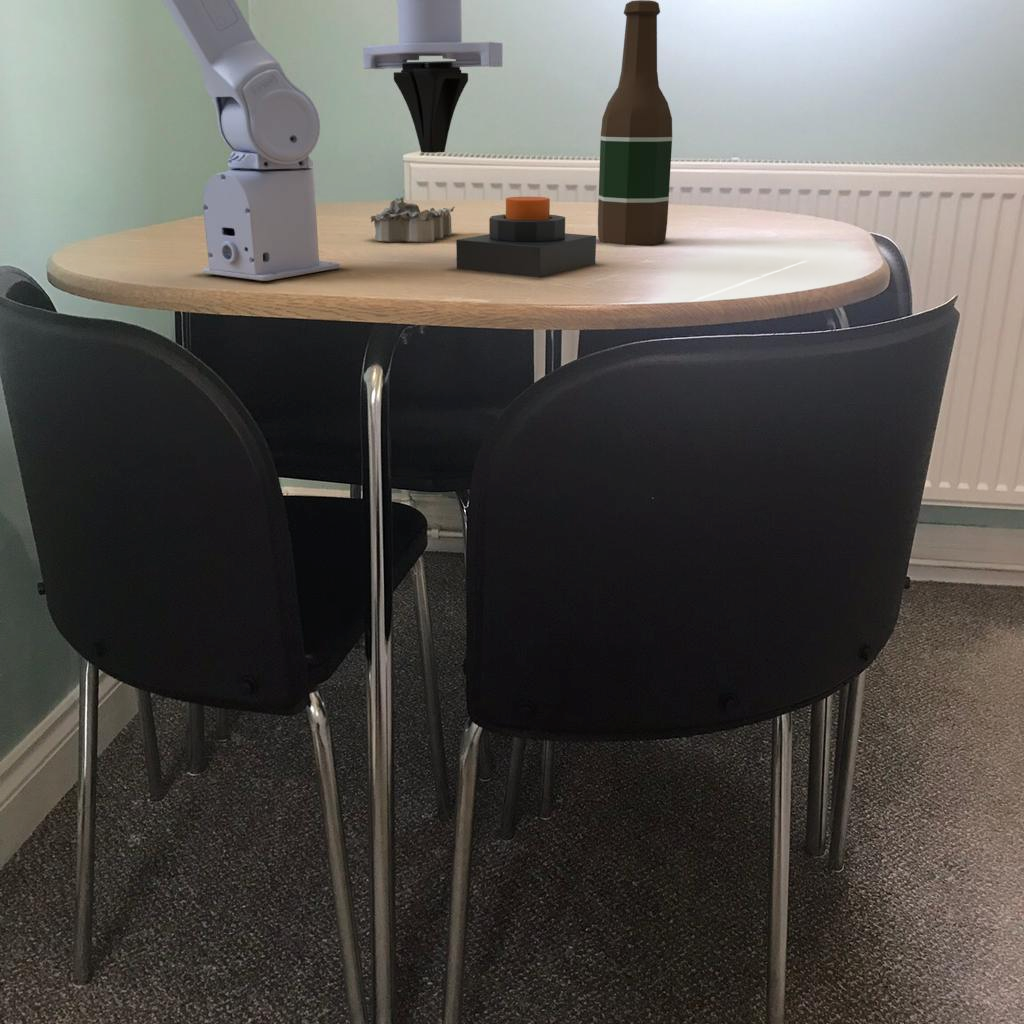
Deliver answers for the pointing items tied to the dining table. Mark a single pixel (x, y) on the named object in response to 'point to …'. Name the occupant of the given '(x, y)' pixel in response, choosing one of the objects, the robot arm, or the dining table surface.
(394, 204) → the egg carton
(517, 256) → the button base
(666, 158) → the beer bottle
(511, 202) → the switch
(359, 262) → the dining table surface
